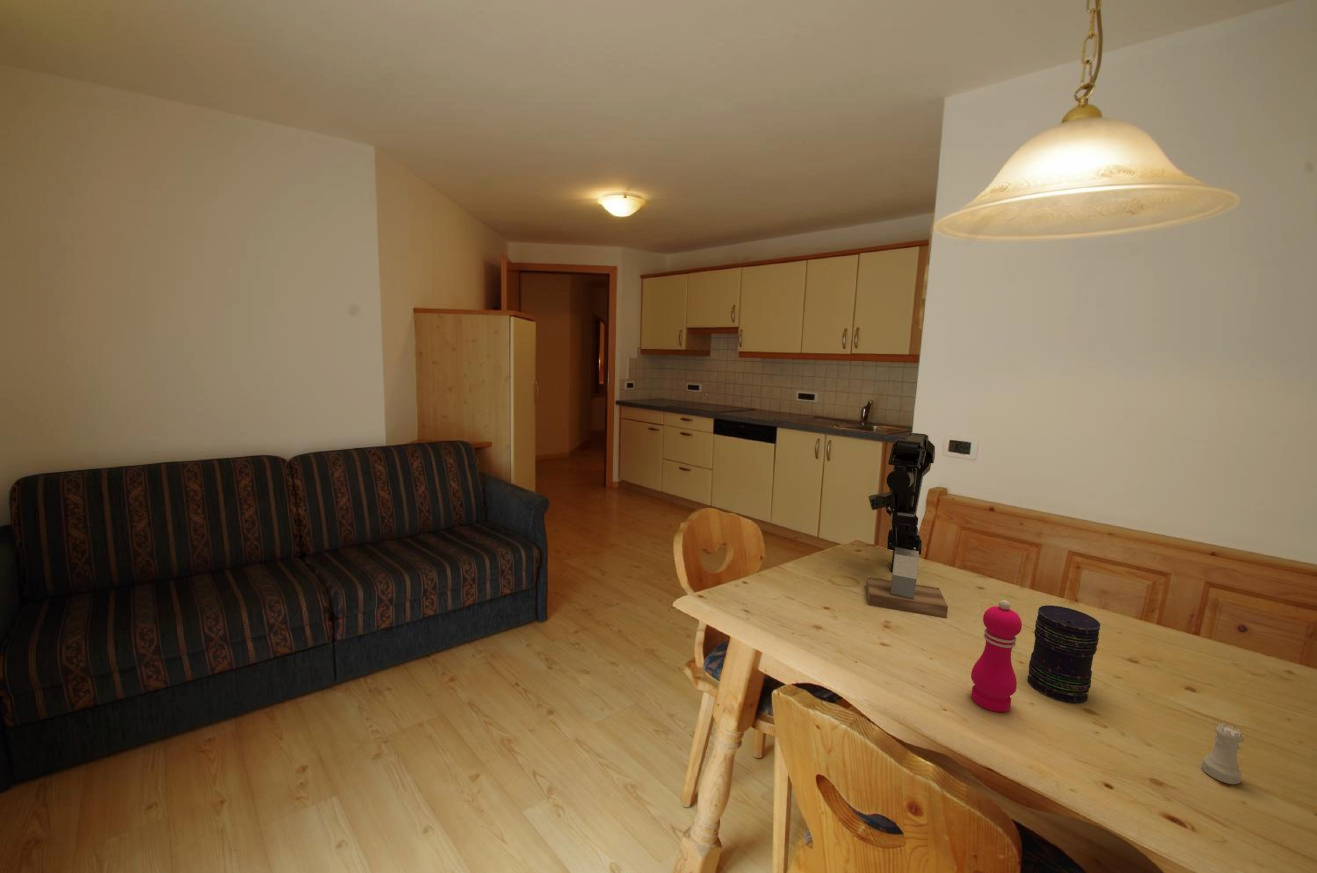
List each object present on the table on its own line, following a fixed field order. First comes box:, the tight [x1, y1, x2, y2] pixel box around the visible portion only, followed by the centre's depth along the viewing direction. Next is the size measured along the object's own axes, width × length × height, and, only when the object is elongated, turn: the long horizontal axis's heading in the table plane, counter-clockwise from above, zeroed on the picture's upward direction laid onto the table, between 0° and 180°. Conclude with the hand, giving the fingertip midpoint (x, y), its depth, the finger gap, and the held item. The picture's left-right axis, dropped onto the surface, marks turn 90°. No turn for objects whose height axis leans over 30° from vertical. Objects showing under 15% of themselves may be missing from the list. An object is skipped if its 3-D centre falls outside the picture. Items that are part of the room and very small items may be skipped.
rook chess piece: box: [1200, 722, 1245, 785], centre depth 86 cm, size 4×4×8 cm
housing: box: [890, 547, 920, 600], centre depth 141 cm, size 6×6×11 cm
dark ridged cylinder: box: [1026, 604, 1101, 705], centre depth 107 cm, size 10×10×15 cm
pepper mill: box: [970, 599, 1023, 713], centre depth 101 cm, size 7×7×20 cm
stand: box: [865, 576, 949, 619], centre depth 144 cm, size 12×18×3 cm, turn 73°
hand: (897, 541), depth 152 cm, fingers open, 9 cm apart
